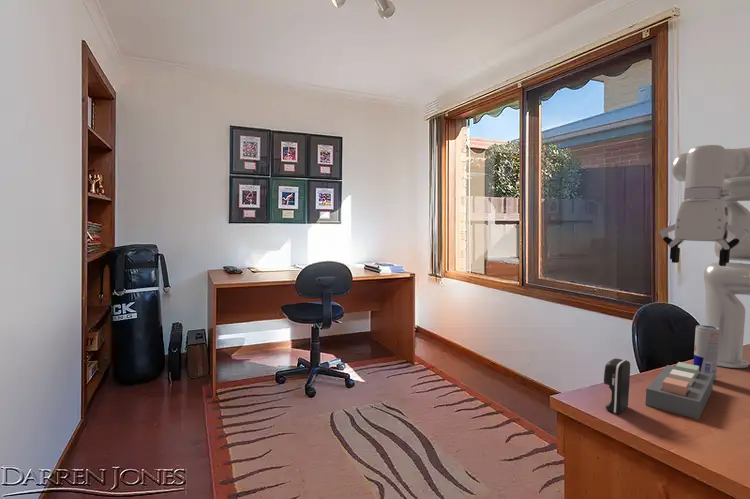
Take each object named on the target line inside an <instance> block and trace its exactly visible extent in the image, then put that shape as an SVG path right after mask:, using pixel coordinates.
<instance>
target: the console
mask: <svg viewBox="0 0 750 499" xmlns="http://www.w3.org/2000/svg"><path fill="white" fill-rule="evenodd" d="M673 369H676V366H673V365H669V364H667V365H666V366H665V367H663V369H662V370H661V372H660V373H659V374H658V375H657V376H655V378H654V379H653V381H652V382H651V383H649V385H648V386H647V387H646V390H645V391H646V393H645V406H648V407H652V408H654V409H659V410H662V411H667V412H670V413H674V414H677V415H680V416H684V417H688V418H692V419H695V420H698V421H699V419H700V418H701V415H702V413H703V411H704V410H705V407H706V404H707V402H708V400H709V397H710V396H711V394H712V392H713V387H714V385H713V384H714V380H713V374H708V373H703V372H699V377H698V378H694V385H693V387H690V386H689V392H688V395H687V396H683V395H679V394H675V393H671V392H667V391H662V385H663V381H664V380H665V378H666V377H669V374H670V372H671V371H672V370H673Z"/></svg>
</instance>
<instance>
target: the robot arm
mask: <svg viewBox="0 0 750 499" xmlns="http://www.w3.org/2000/svg"><path fill="white" fill-rule="evenodd" d="M671 173H672V176H673V178H674V179H675V180H677V182H684V193H683V196H684V197H683V201H680V204H679V207H678V210H677V214H676V218H675V224H672V225H670V226H668V227H665V228H662V229H660V230H659V234H660V235H661V238H662V240H663V241H664V242H665V244H667V245H668V247H669V248H670V250H669V252H670V253H669V260H671V263H672V264H673V263H674V264H675V263H676V264H677V263H680V256H681V255H680V252H681V249H680V248H681V247H679V245H681V244H682V243H683V242H684V241H687V242H689V241H690V242H691V241H693V242H714V253H715V256H716V257H717V258H719V260H718V262H713V263H711V264H708V265H707V266H706V267H705V269H704V273H703V280H704V287H705V313H704V325H706V326H712V327H717V328H719V342H718V357H717V367H723V368H730V369H731V368H732V369H747V368H748V367H749V365H750V363H749V361H747V360H746V359H744V358H743V352H744V350H743V349H744V348H743V347H744V336H745V325H746V324H745V322H746V308H745V306H744V304H743V302H742V301H741V300H740V299H739V297H737V295H741V296H742V295H743V296H750V263H743V262H750V211H749V209H748V208H746V207H745V206H744V205H743V204H741V203H740V202H749V201H750V147H741V148H725V147H724V146H722V145H719V144H707V145H706V144H705V145H704V144H703V145H698V146H694V147H691V148H690V149H689V150H688V151H687V152H685V153H680V154H678V155H677V156H676V157H675V158H674V160H673V162H672V166H671ZM671 232H674V239H672V238H671V237H670V235H669V233H671ZM730 261H741V262H742V261H743V262H742V263H741V262H730Z"/></svg>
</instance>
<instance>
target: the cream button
mask: <svg viewBox="0 0 750 499" xmlns="http://www.w3.org/2000/svg"><path fill="white" fill-rule="evenodd" d="M669 378H673V379H678V380H682V381H686V382H689V386H690V387H693V385H694V373H689V372H684V371H680V370H675V369H673V370H672V371H671V372H670V374H669Z"/></svg>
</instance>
